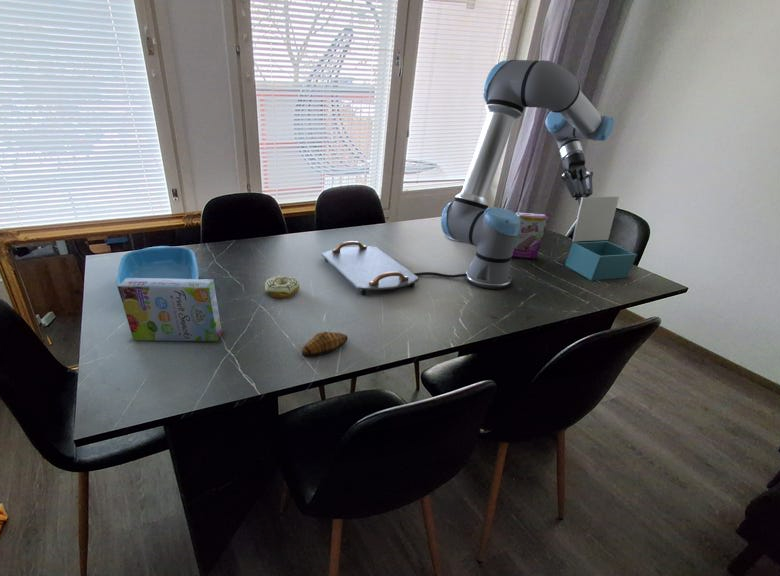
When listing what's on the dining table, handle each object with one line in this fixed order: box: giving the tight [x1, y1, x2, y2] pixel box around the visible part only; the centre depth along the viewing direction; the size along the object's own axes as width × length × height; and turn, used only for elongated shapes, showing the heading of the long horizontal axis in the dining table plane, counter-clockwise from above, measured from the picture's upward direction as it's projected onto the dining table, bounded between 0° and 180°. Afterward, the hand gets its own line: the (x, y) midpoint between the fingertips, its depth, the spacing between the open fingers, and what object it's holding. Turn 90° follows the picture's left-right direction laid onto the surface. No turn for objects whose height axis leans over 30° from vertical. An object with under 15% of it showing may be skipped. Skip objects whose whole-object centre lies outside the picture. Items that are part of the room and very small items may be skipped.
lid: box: [571, 196, 620, 243], centre depth 154 cm, size 15×16×1 cm
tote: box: [564, 240, 638, 281], centre depth 154 cm, size 15×16×9 cm
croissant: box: [301, 330, 349, 358], centre depth 103 cm, size 14×7×5 cm, turn 128°
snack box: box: [117, 278, 223, 342], centre depth 103 cm, size 21×6×15 cm, turn 92°
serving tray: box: [321, 240, 420, 296], centre depth 145 cm, size 39×23×6 cm, turn 25°
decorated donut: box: [264, 275, 300, 299], centre depth 130 cm, size 10×11×4 cm
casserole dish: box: [115, 245, 200, 288], centre depth 129 cm, size 37×22×7 cm, turn 21°
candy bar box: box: [512, 211, 549, 260], centre depth 162 cm, size 11×5×16 cm, turn 84°
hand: (587, 213), depth 157 cm, fingers closed
